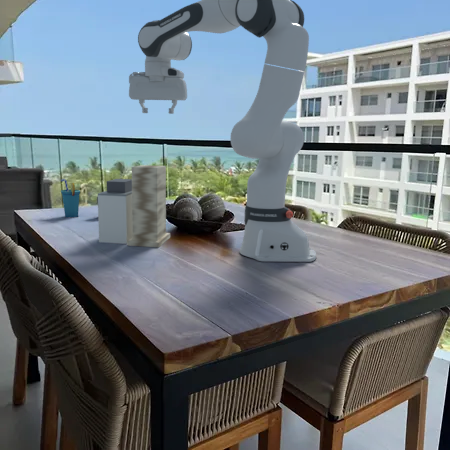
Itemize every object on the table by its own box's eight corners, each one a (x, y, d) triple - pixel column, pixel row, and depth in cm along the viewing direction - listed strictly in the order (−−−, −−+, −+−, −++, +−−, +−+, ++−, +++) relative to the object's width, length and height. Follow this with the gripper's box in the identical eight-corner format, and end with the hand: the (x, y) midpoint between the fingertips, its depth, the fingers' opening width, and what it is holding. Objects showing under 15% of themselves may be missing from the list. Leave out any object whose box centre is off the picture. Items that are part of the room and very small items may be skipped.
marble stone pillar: (170, 237, 152) (170, 165, 148) (158, 247, 139) (158, 168, 134) (141, 235, 154) (140, 164, 149) (127, 245, 140) (126, 167, 135)
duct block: (140, 234, 156) (139, 189, 153) (126, 243, 142) (125, 194, 139) (115, 233, 157) (114, 188, 154) (99, 242, 143) (97, 193, 140)
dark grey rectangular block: (142, 187, 160) (142, 177, 159) (125, 193, 143) (124, 182, 142) (125, 186, 160) (125, 176, 160) (106, 192, 143) (106, 181, 143)
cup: (53, 214, 188) (52, 178, 185) (71, 212, 193) (70, 177, 190) (69, 219, 178) (67, 181, 175) (87, 217, 183) (86, 180, 180)
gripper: (125, 70, 154) (126, 112, 157) (184, 71, 152) (184, 113, 155) (131, 73, 161) (132, 113, 163) (188, 73, 158) (188, 114, 161)
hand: (158, 113), depth 159 cm, fingers open, 8 cm apart
